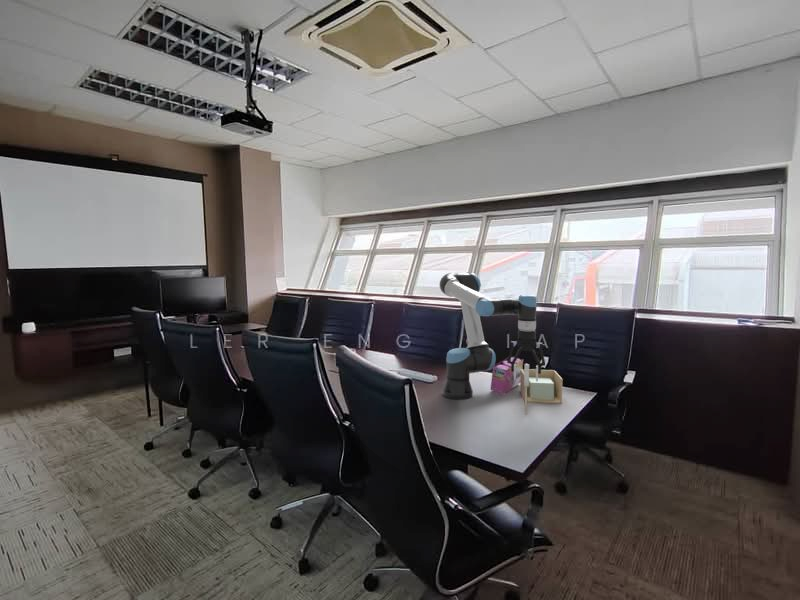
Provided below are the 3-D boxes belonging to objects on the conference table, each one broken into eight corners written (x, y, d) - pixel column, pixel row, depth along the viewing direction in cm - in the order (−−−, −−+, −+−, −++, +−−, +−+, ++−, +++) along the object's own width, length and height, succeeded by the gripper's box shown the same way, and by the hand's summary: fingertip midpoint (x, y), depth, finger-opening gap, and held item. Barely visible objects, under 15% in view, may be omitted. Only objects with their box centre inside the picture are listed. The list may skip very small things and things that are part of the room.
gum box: (509, 377, 226) (511, 355, 223) (522, 381, 221) (525, 358, 218) (489, 390, 208) (492, 365, 205) (503, 394, 203) (506, 370, 200)
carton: (525, 401, 192) (525, 377, 191) (520, 391, 208) (520, 368, 208) (561, 403, 189) (562, 379, 188) (553, 392, 206) (554, 369, 205)
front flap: (523, 401, 191) (524, 357, 190) (527, 402, 191) (528, 357, 189) (523, 414, 175) (524, 365, 174) (528, 414, 175) (529, 366, 173)
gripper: (501, 330, 175) (500, 379, 177) (553, 332, 168) (551, 384, 170) (502, 327, 182) (501, 375, 184) (552, 329, 175) (550, 379, 177)
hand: (525, 379), depth 177 cm, fingers open, 9 cm apart
